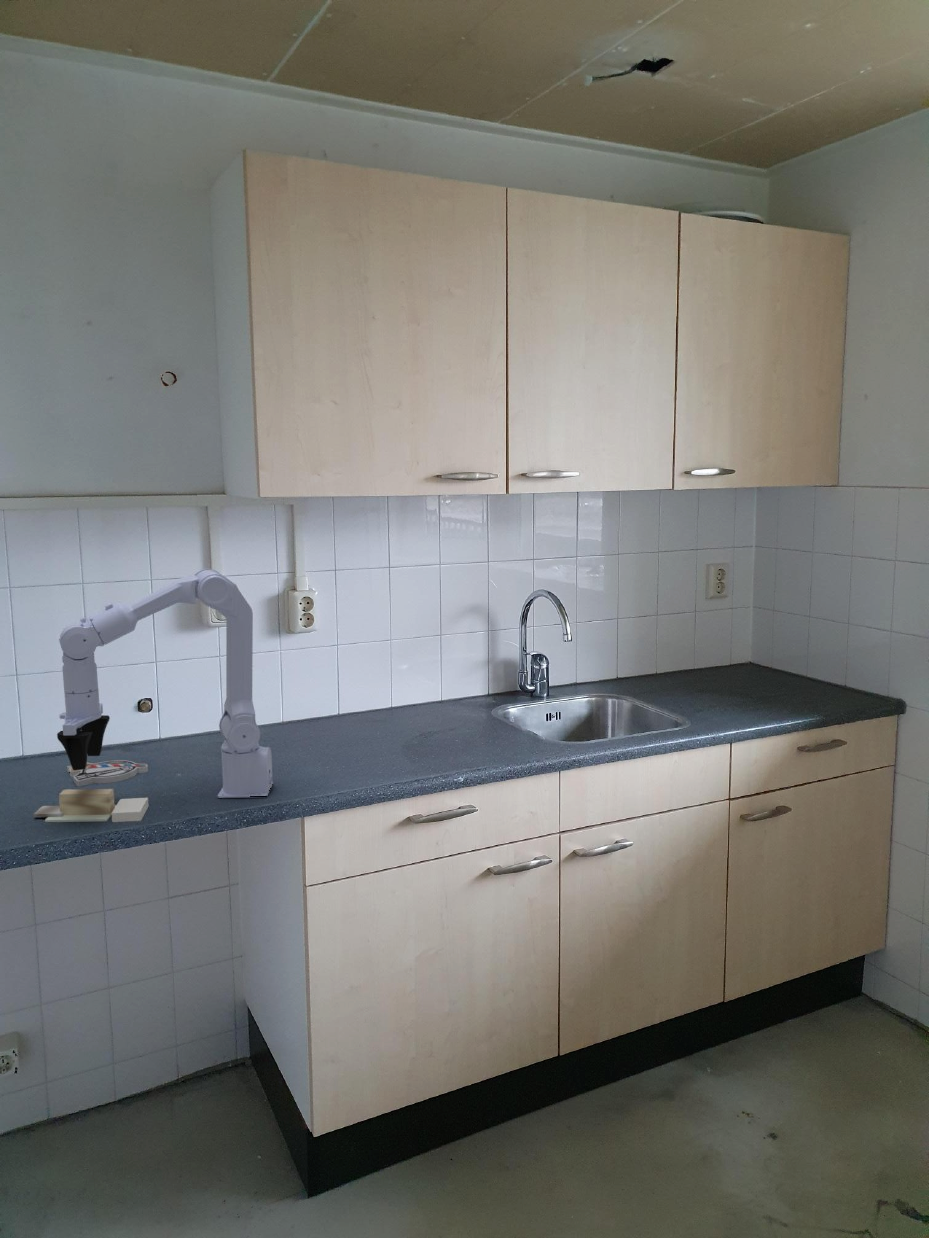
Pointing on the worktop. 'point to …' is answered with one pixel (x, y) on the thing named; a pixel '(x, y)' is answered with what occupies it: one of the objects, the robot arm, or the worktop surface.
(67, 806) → the wooden handled scraper
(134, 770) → the emblem
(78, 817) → the pad
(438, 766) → the worktop surface
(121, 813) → the tile
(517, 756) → the worktop surface
